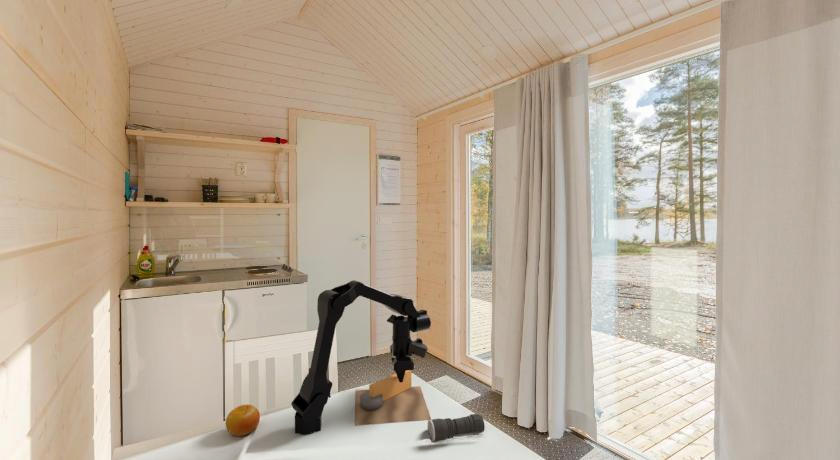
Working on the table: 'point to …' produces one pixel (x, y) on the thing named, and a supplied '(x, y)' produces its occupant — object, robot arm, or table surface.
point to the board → (394, 408)
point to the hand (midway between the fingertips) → (401, 382)
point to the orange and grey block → (384, 391)
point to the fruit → (242, 420)
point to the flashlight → (454, 426)
